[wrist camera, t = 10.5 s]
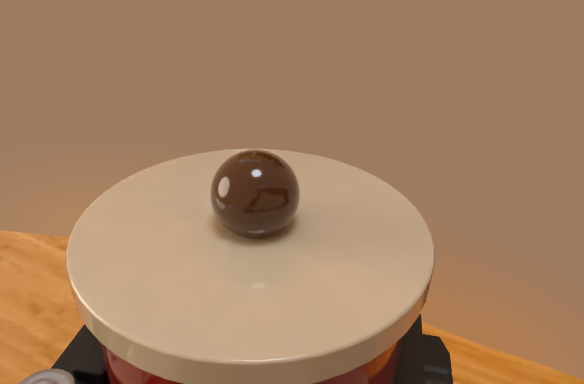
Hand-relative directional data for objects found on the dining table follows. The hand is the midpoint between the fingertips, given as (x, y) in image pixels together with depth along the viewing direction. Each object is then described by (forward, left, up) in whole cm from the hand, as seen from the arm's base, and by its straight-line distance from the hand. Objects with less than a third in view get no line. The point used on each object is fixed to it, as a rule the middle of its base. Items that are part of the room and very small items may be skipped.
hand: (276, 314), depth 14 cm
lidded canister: (0, 0, -7) cm, 7 cm away
